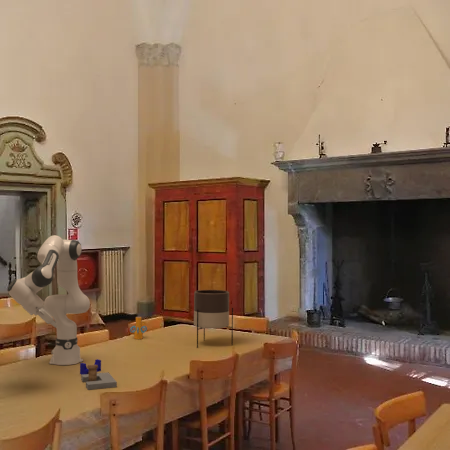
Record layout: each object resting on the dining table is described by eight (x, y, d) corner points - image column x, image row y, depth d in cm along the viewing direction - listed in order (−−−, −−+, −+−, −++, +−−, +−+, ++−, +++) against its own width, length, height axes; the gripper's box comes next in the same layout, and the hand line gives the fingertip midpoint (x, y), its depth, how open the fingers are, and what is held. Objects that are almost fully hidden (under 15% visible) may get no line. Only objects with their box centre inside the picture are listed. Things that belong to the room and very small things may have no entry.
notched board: (81, 379, 303) (81, 374, 303) (108, 377, 309) (108, 372, 309) (87, 389, 285) (87, 384, 285) (116, 387, 290) (116, 382, 290)
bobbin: (85, 382, 297) (86, 365, 297) (97, 381, 299) (97, 364, 299) (87, 385, 292) (87, 367, 292) (99, 384, 294) (99, 366, 294)
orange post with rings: (150, 338, 413) (150, 316, 413) (140, 340, 404) (140, 318, 404) (136, 336, 419) (136, 315, 419) (126, 338, 411) (127, 317, 410)
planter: (216, 350, 375) (217, 295, 375) (184, 346, 388) (184, 292, 388) (237, 343, 398) (237, 291, 397) (206, 339, 411) (206, 288, 410)
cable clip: (85, 376, 311) (85, 364, 311) (79, 374, 314) (80, 363, 314) (102, 371, 321) (103, 360, 321) (97, 370, 324) (97, 359, 323)
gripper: (42, 304, 282) (63, 323, 286) (38, 299, 301) (57, 317, 305) (32, 314, 280) (53, 333, 284) (28, 308, 299) (48, 326, 303)
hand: (55, 325), depth 294 cm, fingers open, 8 cm apart
